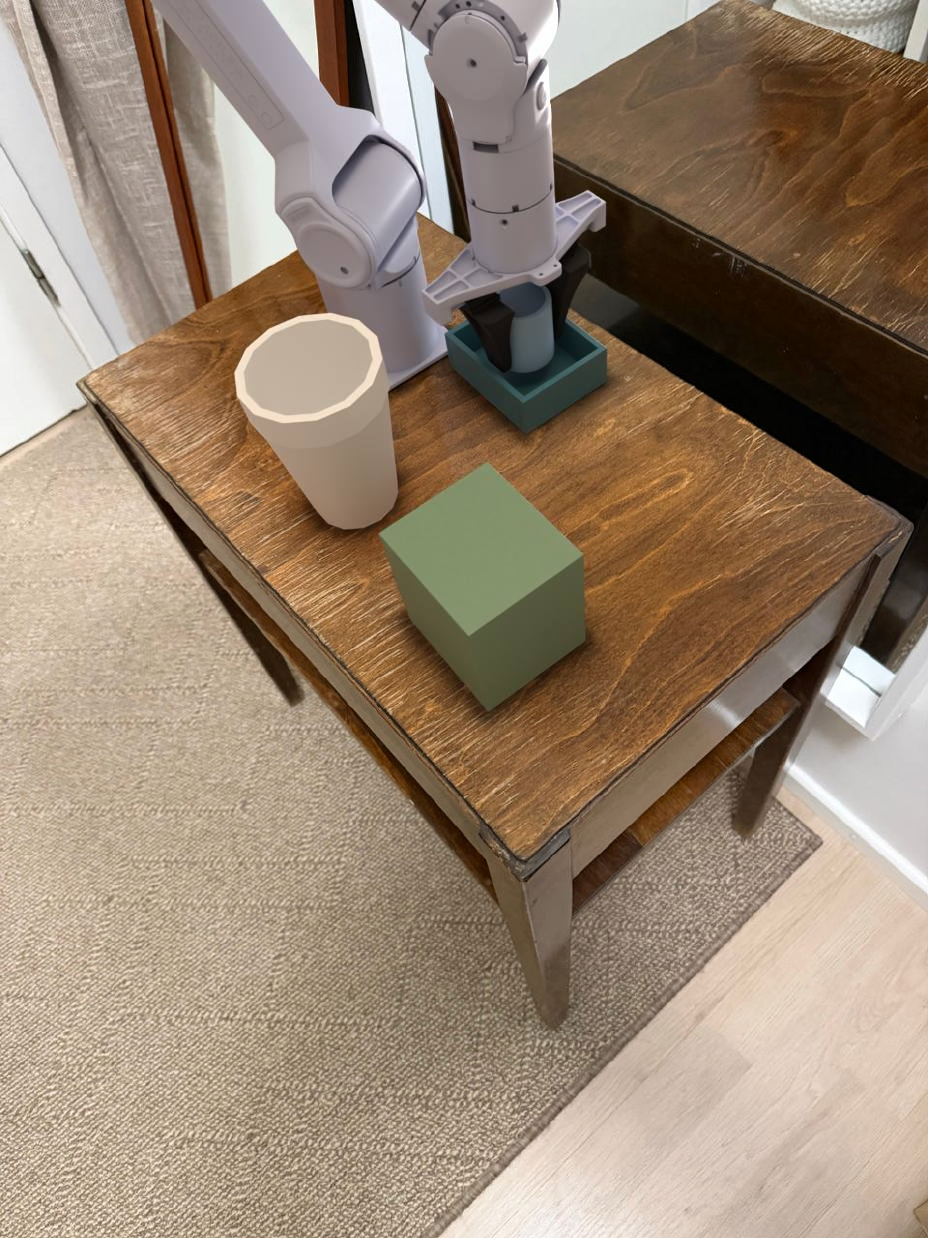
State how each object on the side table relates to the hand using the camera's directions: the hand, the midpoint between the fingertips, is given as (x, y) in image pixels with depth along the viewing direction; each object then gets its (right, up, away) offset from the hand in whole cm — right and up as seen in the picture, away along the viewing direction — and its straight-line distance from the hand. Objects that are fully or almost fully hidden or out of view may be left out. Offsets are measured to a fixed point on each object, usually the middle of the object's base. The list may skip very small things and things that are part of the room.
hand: (524, 348), depth 68 cm
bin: (0, -1, +2) cm, 3 cm away
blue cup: (0, 0, 0) cm, 0 cm away
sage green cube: (-3, -22, -9) cm, 23 cm away
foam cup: (-13, -12, -2) cm, 17 cm away
